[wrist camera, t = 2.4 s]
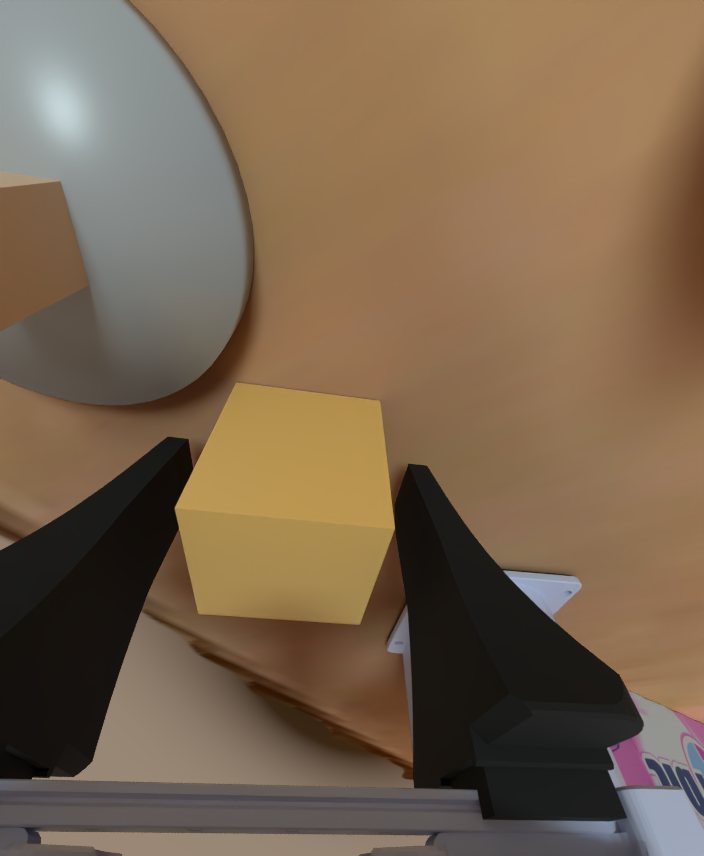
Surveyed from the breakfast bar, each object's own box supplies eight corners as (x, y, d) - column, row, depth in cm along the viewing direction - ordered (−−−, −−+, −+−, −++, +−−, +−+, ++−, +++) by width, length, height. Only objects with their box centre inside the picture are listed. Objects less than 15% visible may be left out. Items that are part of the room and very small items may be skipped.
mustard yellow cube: (357, 495, 15) (359, 624, 11) (241, 483, 14) (198, 614, 10) (380, 400, 12) (395, 528, 8) (236, 382, 11) (174, 507, 7)
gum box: (726, 731, 37) (882, 972, 26) (647, 746, 40) (755, 962, 30) (604, 678, 27) (768, 1018, 17) (517, 704, 31) (604, 995, 21)
